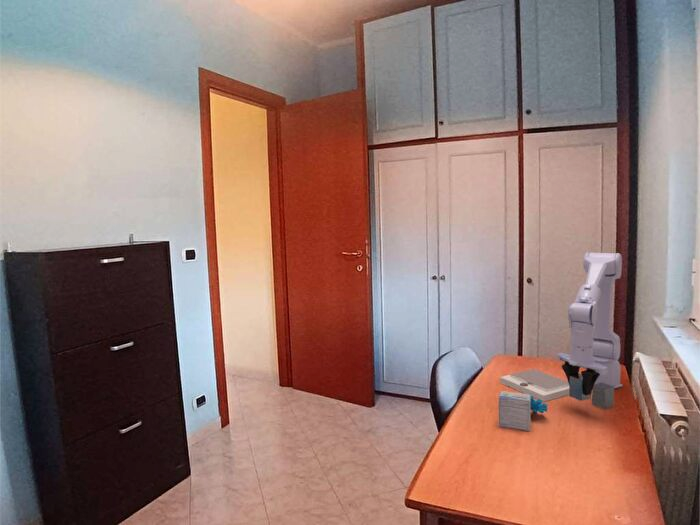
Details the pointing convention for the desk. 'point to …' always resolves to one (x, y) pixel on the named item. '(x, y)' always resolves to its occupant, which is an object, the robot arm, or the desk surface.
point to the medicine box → (514, 410)
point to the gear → (538, 405)
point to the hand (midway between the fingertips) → (580, 391)
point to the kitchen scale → (537, 384)
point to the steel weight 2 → (603, 395)
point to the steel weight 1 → (577, 388)
